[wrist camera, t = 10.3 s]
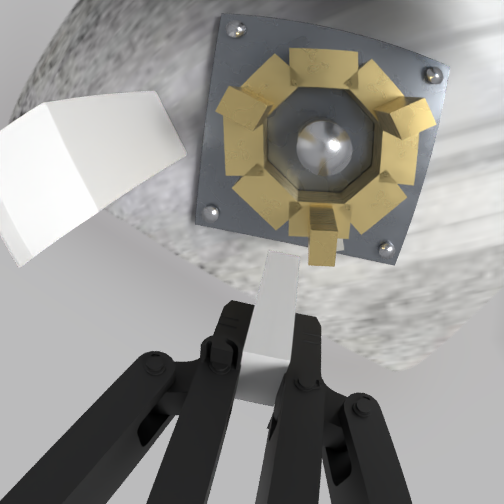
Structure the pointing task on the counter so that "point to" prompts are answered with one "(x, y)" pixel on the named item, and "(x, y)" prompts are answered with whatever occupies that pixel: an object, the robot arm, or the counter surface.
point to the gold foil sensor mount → (311, 202)
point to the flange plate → (312, 129)
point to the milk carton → (77, 163)
